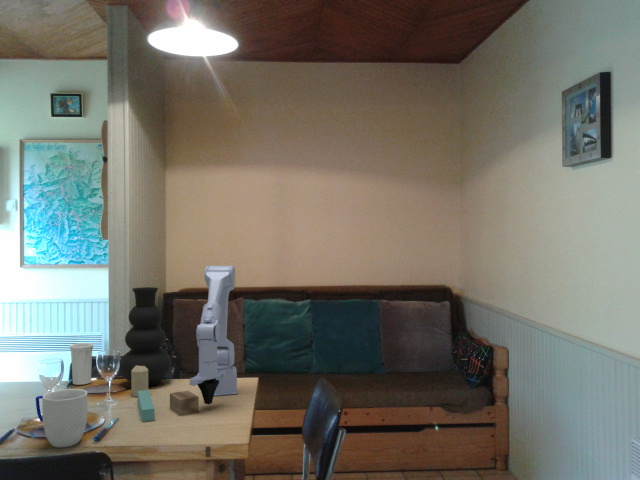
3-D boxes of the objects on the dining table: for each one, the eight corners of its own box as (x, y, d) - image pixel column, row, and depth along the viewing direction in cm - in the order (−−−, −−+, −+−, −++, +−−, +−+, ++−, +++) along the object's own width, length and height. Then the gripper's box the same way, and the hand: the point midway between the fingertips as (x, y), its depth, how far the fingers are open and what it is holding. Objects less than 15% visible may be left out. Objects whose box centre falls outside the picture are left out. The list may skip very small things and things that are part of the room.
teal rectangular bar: (148, 400, 195) (148, 389, 195) (154, 420, 175) (154, 408, 175) (137, 401, 194) (137, 390, 194) (142, 421, 173) (142, 410, 173)
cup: (65, 385, 213) (65, 346, 213) (78, 380, 221) (77, 342, 221) (85, 386, 212) (85, 347, 212) (98, 381, 220) (97, 343, 220)
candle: (150, 392, 204) (150, 364, 204) (144, 397, 199) (144, 367, 199) (135, 392, 205) (135, 363, 205) (128, 396, 199) (128, 367, 199)
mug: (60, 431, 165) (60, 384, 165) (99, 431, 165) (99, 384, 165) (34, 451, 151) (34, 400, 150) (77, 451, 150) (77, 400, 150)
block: (187, 405, 190) (187, 390, 190) (198, 413, 182) (198, 397, 182) (169, 409, 187) (169, 393, 187) (179, 416, 179) (179, 400, 179)
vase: (178, 377, 225) (178, 286, 225) (160, 390, 207) (160, 291, 206) (132, 376, 227) (131, 285, 227) (110, 389, 209) (109, 290, 208)
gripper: (214, 355, 195) (214, 396, 195) (182, 363, 183) (182, 407, 183) (230, 357, 191) (230, 399, 192) (199, 366, 179) (199, 410, 179)
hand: (208, 403), depth 187 cm, fingers closed
